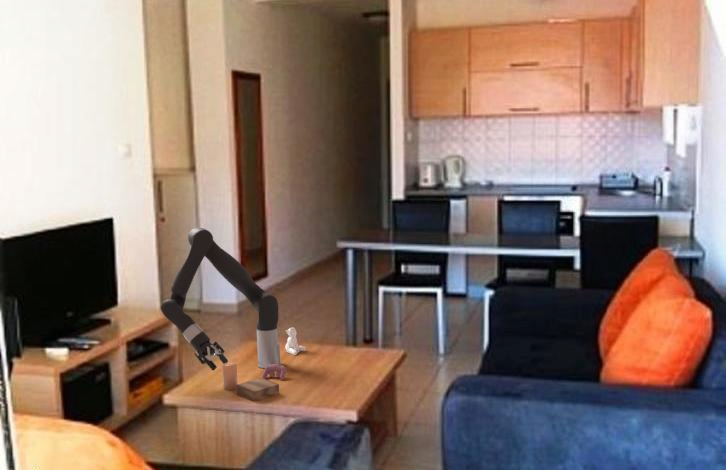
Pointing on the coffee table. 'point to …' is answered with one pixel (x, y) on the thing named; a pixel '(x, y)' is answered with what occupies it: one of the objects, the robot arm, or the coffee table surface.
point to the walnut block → (258, 389)
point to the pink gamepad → (275, 367)
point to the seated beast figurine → (293, 342)
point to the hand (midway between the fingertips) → (221, 366)
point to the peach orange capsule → (230, 376)
